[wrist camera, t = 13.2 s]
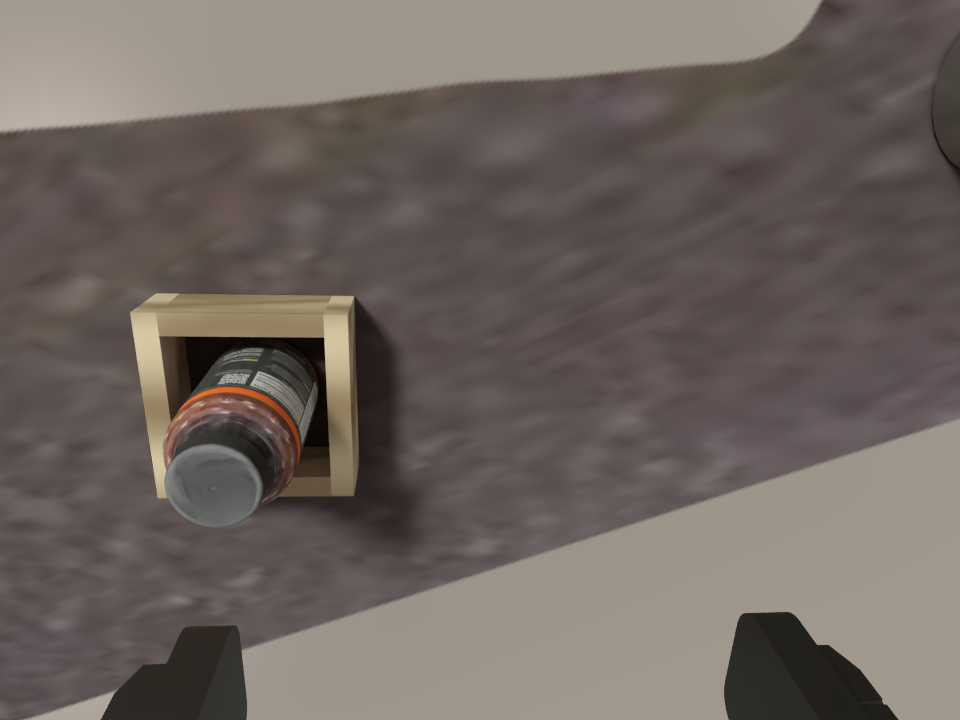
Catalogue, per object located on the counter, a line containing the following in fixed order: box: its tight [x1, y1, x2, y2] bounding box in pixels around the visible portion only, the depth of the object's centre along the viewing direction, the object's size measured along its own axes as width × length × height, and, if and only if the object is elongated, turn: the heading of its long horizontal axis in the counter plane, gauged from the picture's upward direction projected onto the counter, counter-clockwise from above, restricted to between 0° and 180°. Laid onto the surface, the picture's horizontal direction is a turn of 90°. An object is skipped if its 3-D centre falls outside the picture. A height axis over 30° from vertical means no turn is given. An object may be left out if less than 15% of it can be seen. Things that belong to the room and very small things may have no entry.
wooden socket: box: [130, 293, 359, 498], centre depth 37 cm, size 10×10×4 cm
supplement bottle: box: [163, 338, 319, 528], centre depth 34 cm, size 6×6×11 cm
